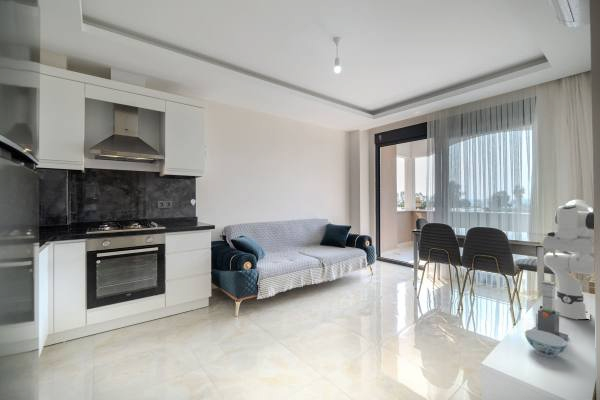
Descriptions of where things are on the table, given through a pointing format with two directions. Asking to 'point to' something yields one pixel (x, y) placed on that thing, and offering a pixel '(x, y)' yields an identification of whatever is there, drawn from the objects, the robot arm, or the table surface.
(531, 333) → the chinaware
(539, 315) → the stand base
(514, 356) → the table surface
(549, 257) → the robot arm
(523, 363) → the table surface
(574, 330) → the table surface
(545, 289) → the column
